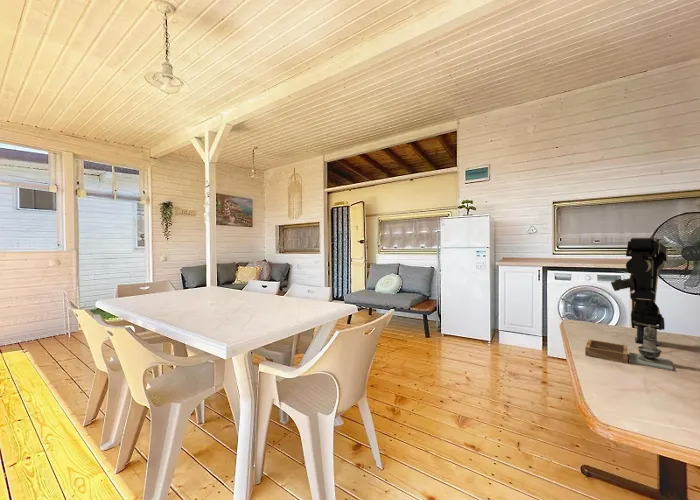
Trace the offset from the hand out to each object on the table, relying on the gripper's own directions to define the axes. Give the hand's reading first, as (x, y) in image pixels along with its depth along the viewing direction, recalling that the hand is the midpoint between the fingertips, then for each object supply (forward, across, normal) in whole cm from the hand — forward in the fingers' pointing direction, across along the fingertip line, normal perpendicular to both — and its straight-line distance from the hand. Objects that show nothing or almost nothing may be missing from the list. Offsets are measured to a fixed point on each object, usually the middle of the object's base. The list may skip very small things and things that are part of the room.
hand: (641, 315), depth 112 cm
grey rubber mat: (+13, +12, +2) cm, 18 cm away
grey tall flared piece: (+13, +12, +2) cm, 17 cm away
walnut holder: (+13, +13, -9) cm, 21 cm away
